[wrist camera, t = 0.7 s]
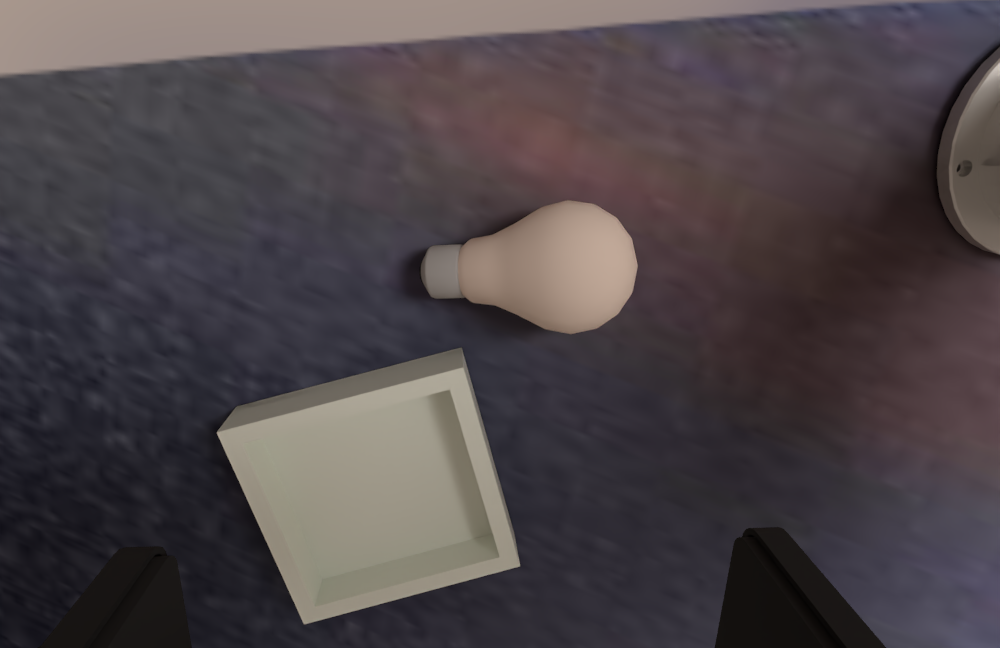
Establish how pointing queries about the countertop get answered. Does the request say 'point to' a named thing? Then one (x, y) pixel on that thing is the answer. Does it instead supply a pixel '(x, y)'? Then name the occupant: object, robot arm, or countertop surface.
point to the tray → (373, 485)
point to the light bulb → (542, 268)
